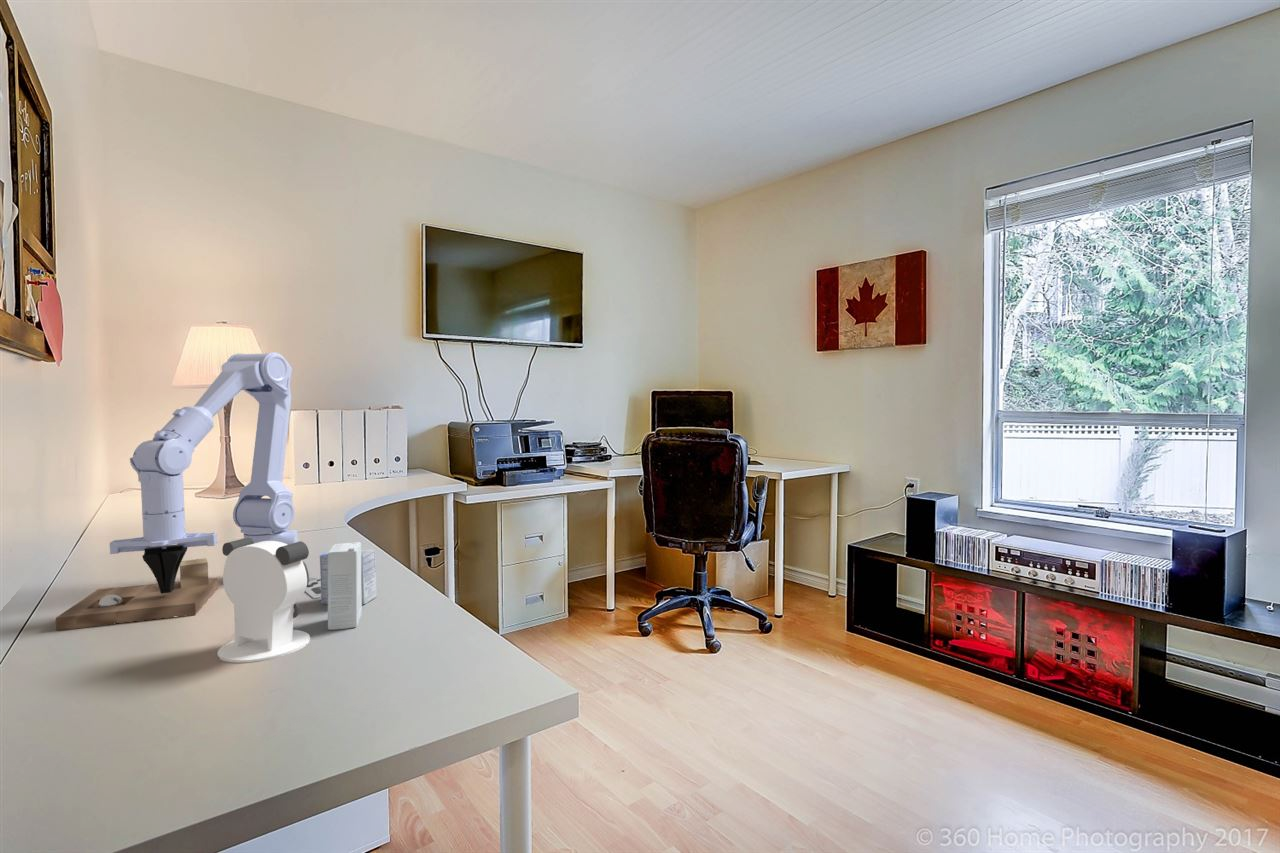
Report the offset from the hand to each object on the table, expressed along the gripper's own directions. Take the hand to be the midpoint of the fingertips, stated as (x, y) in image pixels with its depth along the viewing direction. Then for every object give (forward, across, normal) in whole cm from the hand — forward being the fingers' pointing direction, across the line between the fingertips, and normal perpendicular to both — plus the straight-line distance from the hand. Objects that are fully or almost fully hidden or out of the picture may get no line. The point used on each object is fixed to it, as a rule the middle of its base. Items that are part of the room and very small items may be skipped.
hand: (167, 591), depth 109 cm
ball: (+1, -8, 0) cm, 8 cm away
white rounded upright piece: (+3, +18, -26) cm, 32 cm away
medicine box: (+3, +28, -8) cm, 30 cm away
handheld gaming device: (+3, +24, +4) cm, 25 cm away
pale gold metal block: (+1, +2, +7) cm, 7 cm away
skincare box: (+3, +28, -20) cm, 35 cm away
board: (+3, -4, +2) cm, 5 cm away
